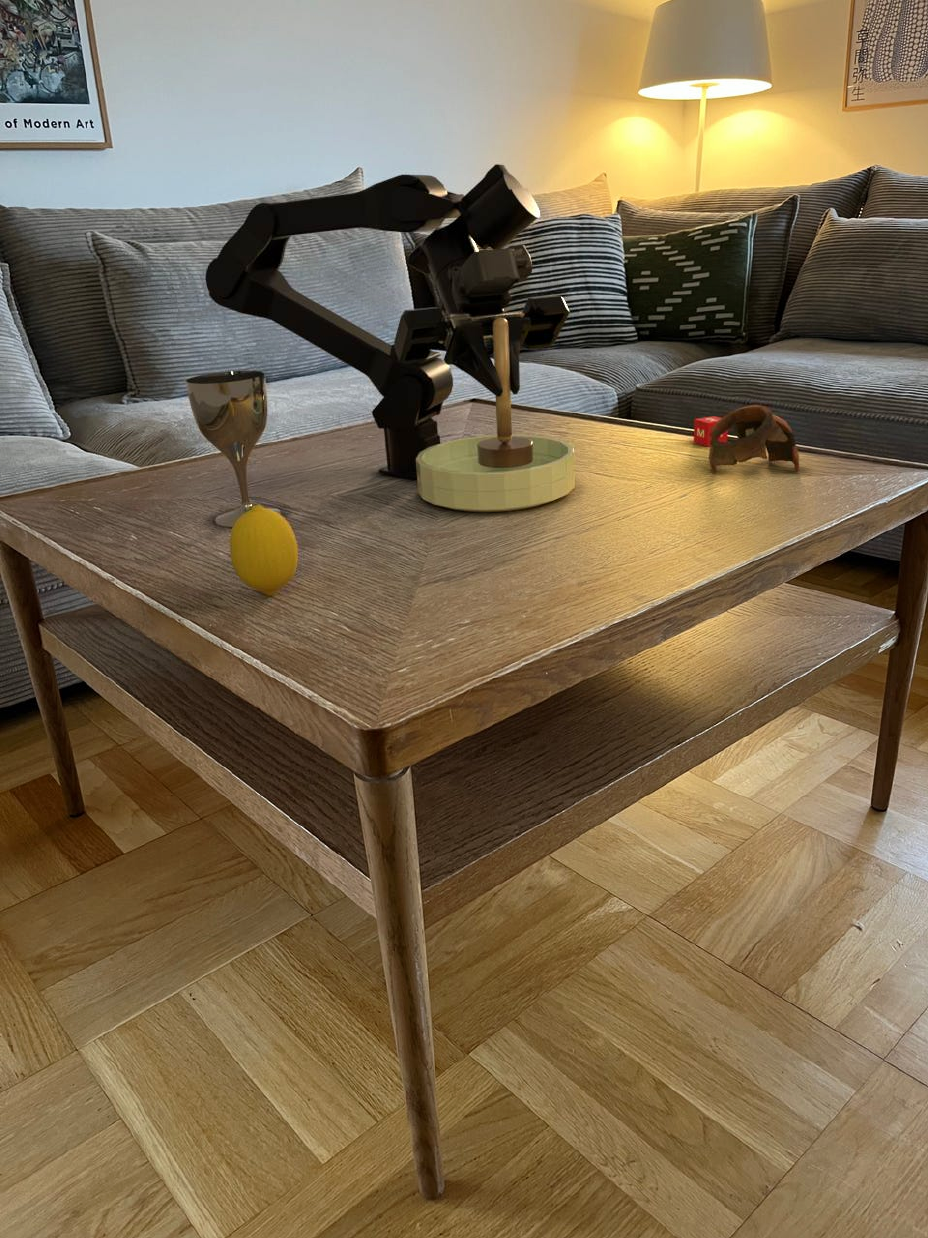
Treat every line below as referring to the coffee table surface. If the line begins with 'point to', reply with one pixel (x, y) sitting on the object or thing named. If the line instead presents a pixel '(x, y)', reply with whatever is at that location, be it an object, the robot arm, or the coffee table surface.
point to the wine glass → (231, 421)
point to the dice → (706, 430)
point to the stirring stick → (504, 413)
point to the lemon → (263, 550)
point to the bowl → (494, 476)
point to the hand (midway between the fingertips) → (508, 392)
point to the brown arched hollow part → (753, 438)
